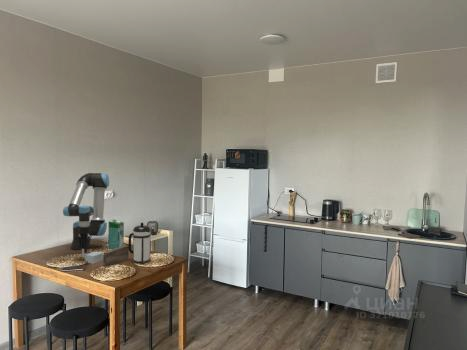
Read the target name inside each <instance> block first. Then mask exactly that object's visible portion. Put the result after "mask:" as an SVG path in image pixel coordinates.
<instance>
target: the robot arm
mask: <svg viewBox="0 0 467 350" xmlns="http://www.w3.org/2000/svg"><path fill="white" fill-rule="evenodd" d="M75 186H76V187H75V190H74V192H73V194H72V197H71V199H70V202H69V204H68V206H64V207H63V209H62V213H63V216H64V217H78V220H77V221H75V222H73V224H72V242H71V245H70V249H71V251H72V250H73V251H81V255H82V256H81V258H85V255H86V254H88V249H90V248H91V241H92V240H91V238H92V237H99V236H100V237H102V236H104V235H105V234H106V232H107V229H108V225H107V224H108V222H106V220H105V219H104V210H105V193H106V190H107V188H108V187H109V186H110V178H109V175H108V174H107V173H103V172H99V173H98V172H88V173H84V174H83V175H82V176H80V178H78V180H77V182H76V184H75ZM89 187H92V190H93V205H80V204H82V203H81V202H82V199H83V198H84V195H85V193H86V190H87V189H88V188H89ZM90 217H92V218H90Z"/></svg>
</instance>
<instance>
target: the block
mask: <svg viewBox="0 0 467 350" xmlns="http://www.w3.org/2000/svg"><path fill="white" fill-rule="evenodd" d="M85 260H86V261H88V263H87V264H91V265H94V264H97V263H99V262H103V252H102V251H101V252H100V251H93V252H90V253H86V255H85V257H84V261H85Z"/></svg>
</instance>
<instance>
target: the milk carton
mask: <svg viewBox="0 0 467 350" xmlns="http://www.w3.org/2000/svg"><path fill="white" fill-rule="evenodd" d="M124 224H125V222H123V221H120V220H117V219H112V220H109V221H108V234H107V235H108V236H107V237H108V239H107V240H108V245H107V247H108V248H107V249H115V248H118V247H121V246H125V242H124V239H125V236H124V235H125V234H124V232H125V231H124V229H125V228H124V227H125V225H124Z"/></svg>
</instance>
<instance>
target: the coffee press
mask: <svg viewBox="0 0 467 350" xmlns="http://www.w3.org/2000/svg"><path fill="white" fill-rule="evenodd" d="M132 231H133V232H131V233H130V234H129V236H128V252H129V253H131V254H132V256H133V258H132V259H131V263H132V264H133V263H134V262H140V263H141V262H142V263H143V264H144V262H147V261H149V260H151V259H152V257H151V228H150V226H148V225H146V224H145V225H144V222H141V223H140V225H136V226H135V227H133V229H132ZM132 241H133V244H132Z"/></svg>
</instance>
